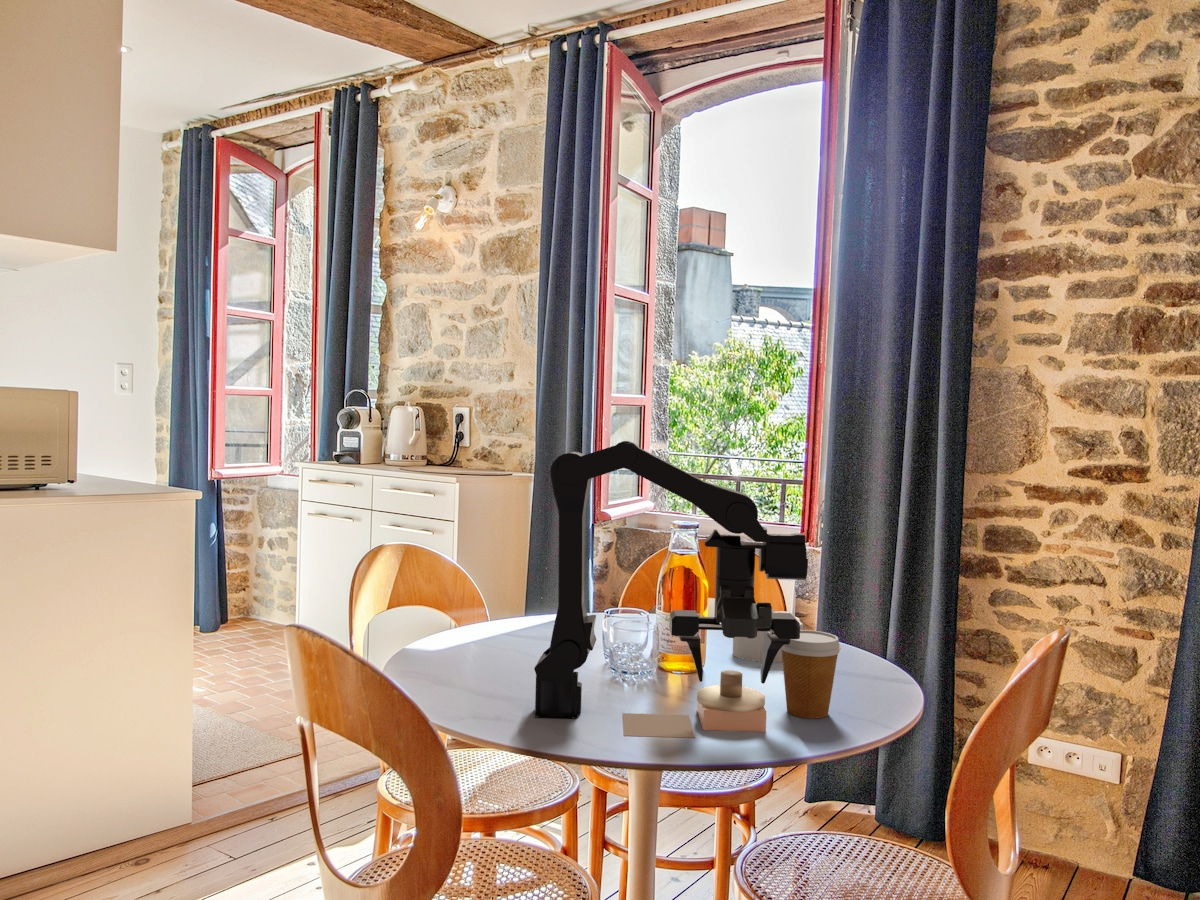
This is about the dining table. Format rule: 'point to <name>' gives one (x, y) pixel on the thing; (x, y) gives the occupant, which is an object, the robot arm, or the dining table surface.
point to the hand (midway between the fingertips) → (731, 681)
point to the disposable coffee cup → (810, 673)
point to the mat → (657, 725)
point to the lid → (731, 695)
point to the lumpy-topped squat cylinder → (756, 645)
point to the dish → (732, 719)
